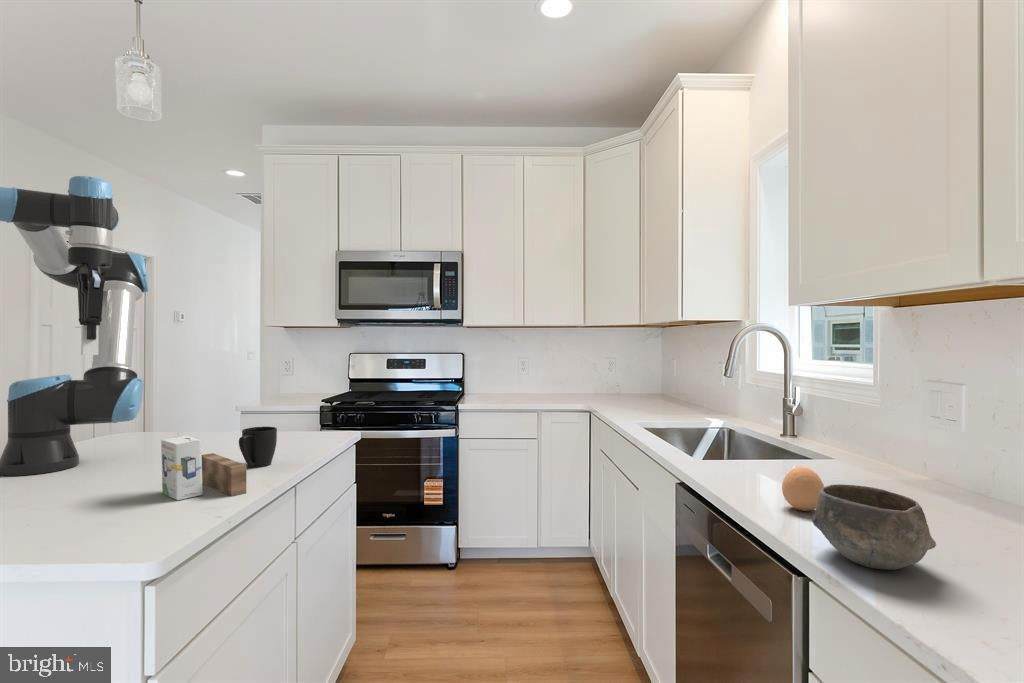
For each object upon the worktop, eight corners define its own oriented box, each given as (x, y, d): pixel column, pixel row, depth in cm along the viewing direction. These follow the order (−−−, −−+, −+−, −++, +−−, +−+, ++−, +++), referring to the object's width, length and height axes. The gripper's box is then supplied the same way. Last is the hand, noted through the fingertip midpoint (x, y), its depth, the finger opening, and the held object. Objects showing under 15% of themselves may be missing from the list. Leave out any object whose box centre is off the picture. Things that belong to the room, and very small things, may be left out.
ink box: (203, 495, 107) (203, 439, 107) (175, 501, 103) (175, 443, 103) (186, 488, 112) (187, 434, 112) (159, 493, 108) (160, 438, 108)
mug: (224, 472, 126) (224, 433, 126) (254, 461, 138) (255, 426, 138) (255, 473, 125) (255, 434, 125) (283, 462, 137) (283, 426, 137)
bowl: (856, 584, 69) (856, 510, 69) (793, 540, 85) (793, 480, 85) (958, 584, 69) (958, 511, 69) (876, 540, 85) (877, 480, 85)
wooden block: (198, 481, 118) (198, 455, 118) (212, 478, 120) (213, 453, 120) (231, 496, 107) (231, 467, 107) (246, 493, 109) (246, 465, 109)
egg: (778, 511, 99) (778, 467, 99) (785, 501, 105) (785, 460, 105) (822, 519, 95) (822, 473, 95) (826, 509, 101) (827, 466, 101)
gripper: (62, 249, 114) (61, 354, 114) (75, 242, 106) (74, 355, 106) (104, 254, 120) (103, 354, 120) (119, 247, 112) (118, 355, 112)
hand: (89, 354), depth 113 cm, fingers closed
